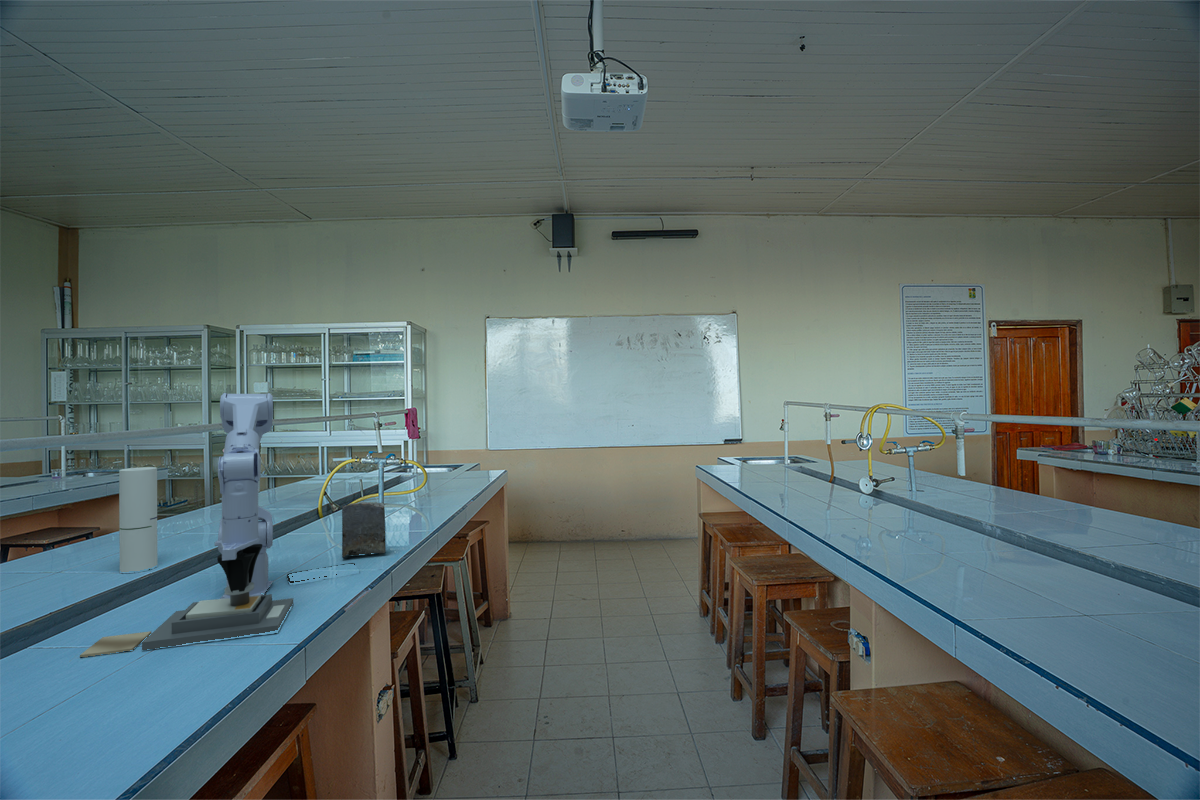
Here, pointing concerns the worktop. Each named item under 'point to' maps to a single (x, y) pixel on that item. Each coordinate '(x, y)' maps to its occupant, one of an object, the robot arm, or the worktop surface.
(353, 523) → the geological specimen
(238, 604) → the dark round-ended cylinder
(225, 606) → the rocker switch
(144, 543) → the cylindrical container
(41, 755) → the worktop surface
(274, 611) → the switch panel
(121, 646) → the pad
